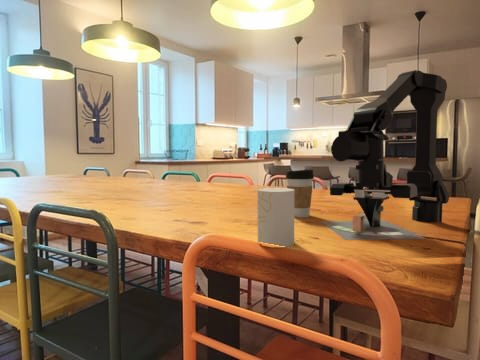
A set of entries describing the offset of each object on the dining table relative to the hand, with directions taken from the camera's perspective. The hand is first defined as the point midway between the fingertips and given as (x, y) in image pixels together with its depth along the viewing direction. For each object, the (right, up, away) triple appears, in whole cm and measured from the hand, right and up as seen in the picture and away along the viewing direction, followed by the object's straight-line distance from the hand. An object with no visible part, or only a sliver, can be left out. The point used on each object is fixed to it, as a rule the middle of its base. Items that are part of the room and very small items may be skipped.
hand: (371, 226), depth 82 cm
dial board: (0, -2, +4) cm, 5 cm away
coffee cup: (-13, -1, +24) cm, 27 cm away
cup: (-23, -3, -5) cm, 24 cm away
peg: (0, -1, +4) cm, 4 cm away
